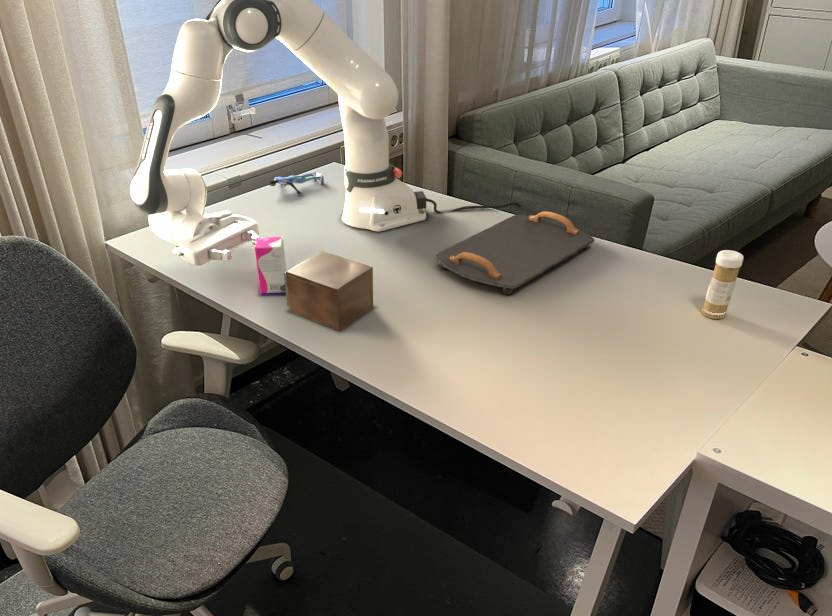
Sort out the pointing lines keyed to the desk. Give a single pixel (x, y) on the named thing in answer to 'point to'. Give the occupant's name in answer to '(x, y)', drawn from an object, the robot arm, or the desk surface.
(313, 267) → the cabinet
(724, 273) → the sprinkles bottle
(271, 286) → the supplement box
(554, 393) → the desk surface
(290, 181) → the person figurine
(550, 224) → the serving tray
